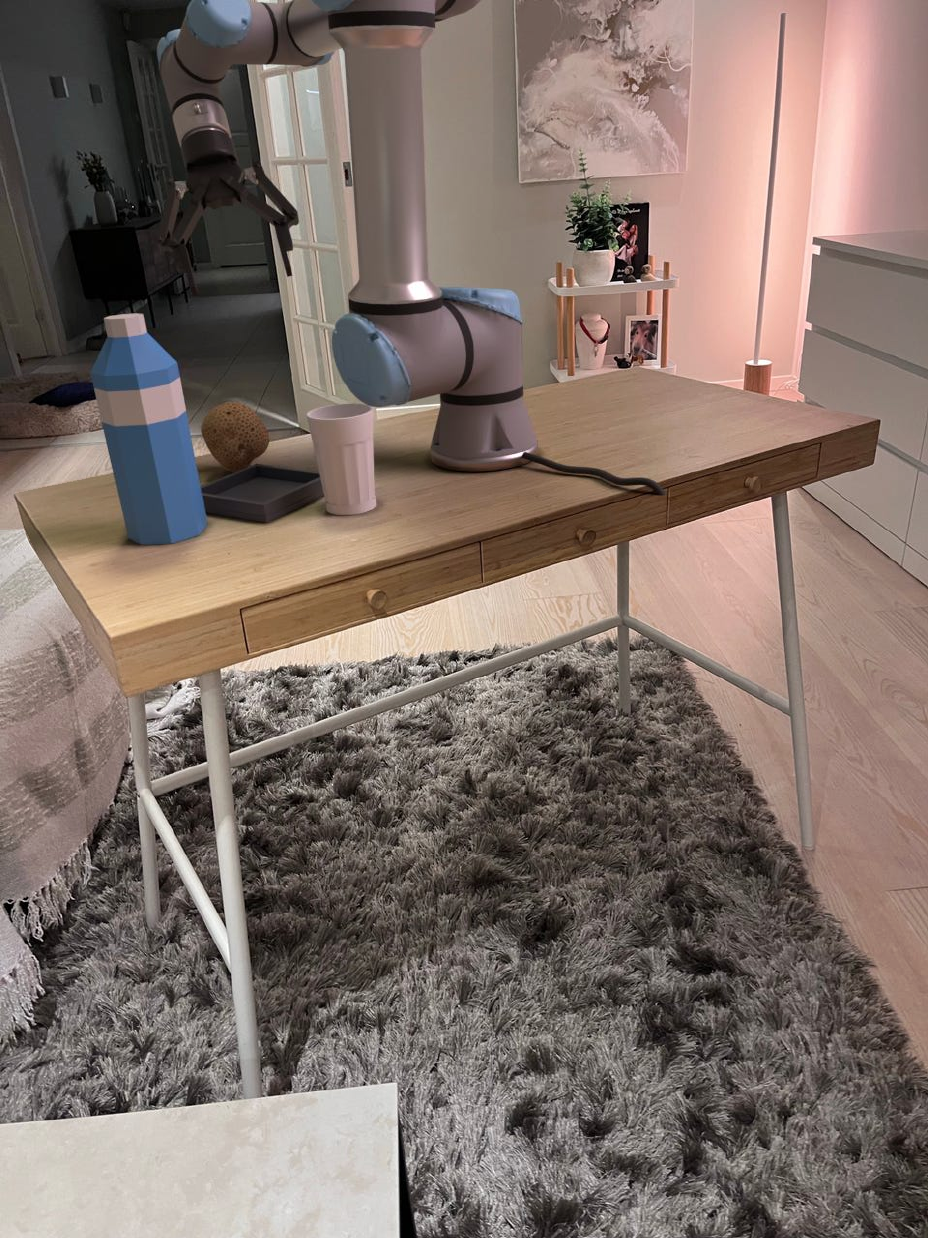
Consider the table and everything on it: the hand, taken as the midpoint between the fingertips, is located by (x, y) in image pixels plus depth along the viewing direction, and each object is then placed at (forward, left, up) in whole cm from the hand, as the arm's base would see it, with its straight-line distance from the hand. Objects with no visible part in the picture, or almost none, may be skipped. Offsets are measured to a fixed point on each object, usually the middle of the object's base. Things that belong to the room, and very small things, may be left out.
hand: (242, 281), depth 133 cm
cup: (-29, +17, -25) cm, 41 cm away
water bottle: (-13, +32, -25) cm, 43 cm away
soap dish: (-16, +19, -25) cm, 35 cm away
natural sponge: (-4, +10, -25) cm, 27 cm away
